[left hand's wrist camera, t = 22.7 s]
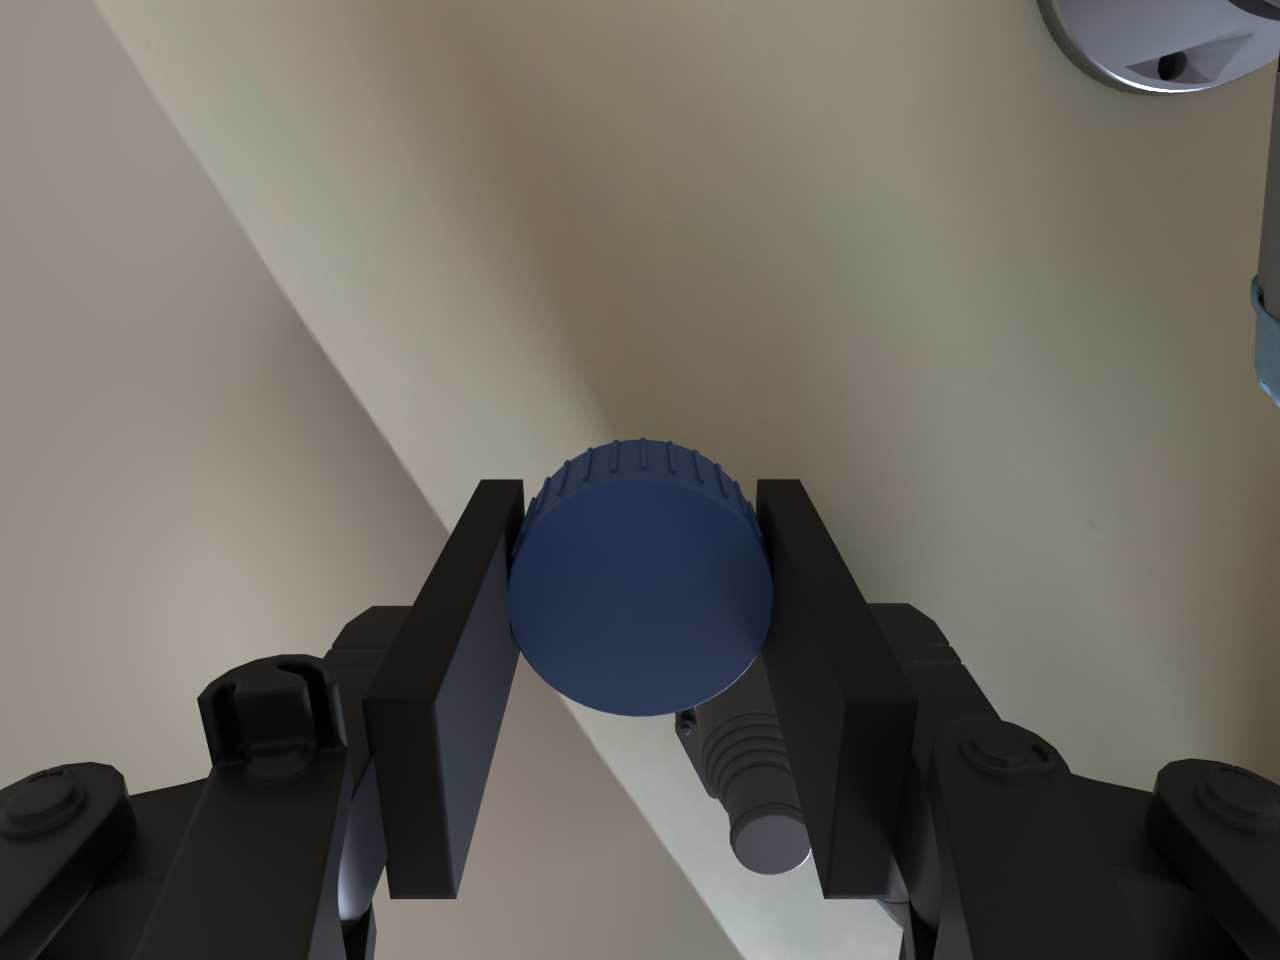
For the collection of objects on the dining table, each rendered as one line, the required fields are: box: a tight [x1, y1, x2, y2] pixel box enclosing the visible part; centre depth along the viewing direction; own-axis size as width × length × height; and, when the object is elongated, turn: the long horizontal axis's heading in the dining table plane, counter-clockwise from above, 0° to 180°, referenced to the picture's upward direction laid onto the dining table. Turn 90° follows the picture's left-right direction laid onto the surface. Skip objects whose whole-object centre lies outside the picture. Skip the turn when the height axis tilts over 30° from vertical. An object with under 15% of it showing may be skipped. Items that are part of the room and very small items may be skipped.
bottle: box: [695, 652, 812, 875], centre depth 41 cm, size 5×5×21 cm
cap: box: [508, 438, 773, 717], centre depth 14 cm, size 4×4×2 cm
